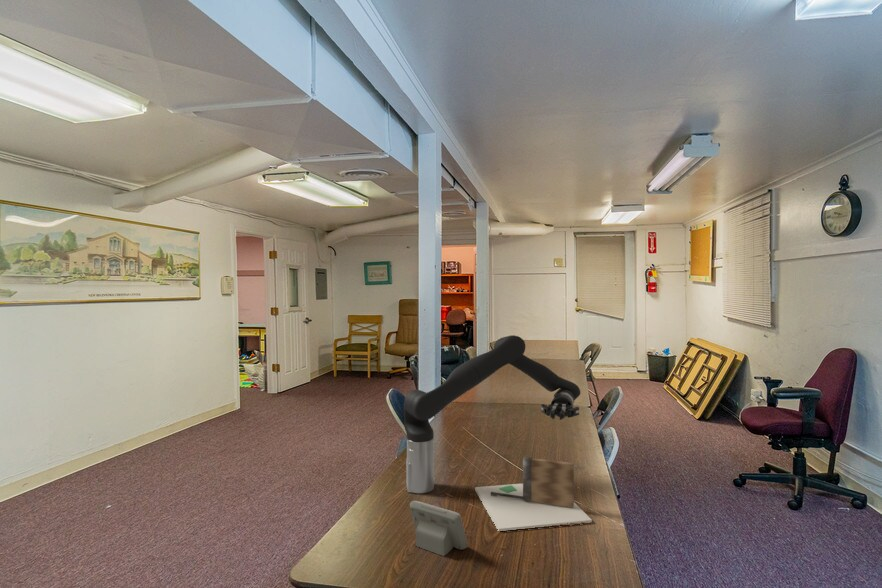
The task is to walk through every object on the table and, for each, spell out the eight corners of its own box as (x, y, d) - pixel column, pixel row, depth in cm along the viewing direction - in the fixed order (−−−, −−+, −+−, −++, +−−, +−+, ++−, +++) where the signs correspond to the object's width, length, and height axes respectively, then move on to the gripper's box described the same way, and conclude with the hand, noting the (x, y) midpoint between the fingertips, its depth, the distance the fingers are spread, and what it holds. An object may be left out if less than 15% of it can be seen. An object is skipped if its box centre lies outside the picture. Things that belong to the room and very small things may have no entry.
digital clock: (471, 549, 123) (470, 509, 123) (447, 564, 117) (447, 521, 117) (427, 528, 134) (427, 491, 134) (404, 540, 128) (403, 501, 128)
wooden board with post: (489, 495, 152) (489, 455, 151) (492, 491, 154) (491, 452, 154) (573, 508, 143) (572, 465, 142) (573, 504, 145) (573, 462, 145)
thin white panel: (498, 532, 132) (498, 528, 132) (475, 490, 159) (475, 486, 159) (591, 523, 136) (591, 519, 136) (553, 483, 164) (553, 480, 164)
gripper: (543, 392, 174) (535, 403, 157) (582, 395, 169) (578, 406, 153) (543, 412, 174) (535, 425, 158) (582, 416, 169) (578, 429, 153)
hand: (556, 416), depth 155 cm, fingers closed
